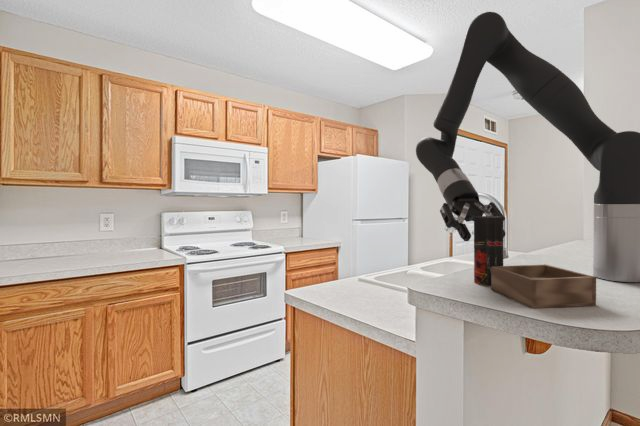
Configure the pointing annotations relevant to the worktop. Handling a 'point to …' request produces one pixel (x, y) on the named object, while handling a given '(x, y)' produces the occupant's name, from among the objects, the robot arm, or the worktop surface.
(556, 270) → the holder box
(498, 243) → the deodorant
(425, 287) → the worktop surface
